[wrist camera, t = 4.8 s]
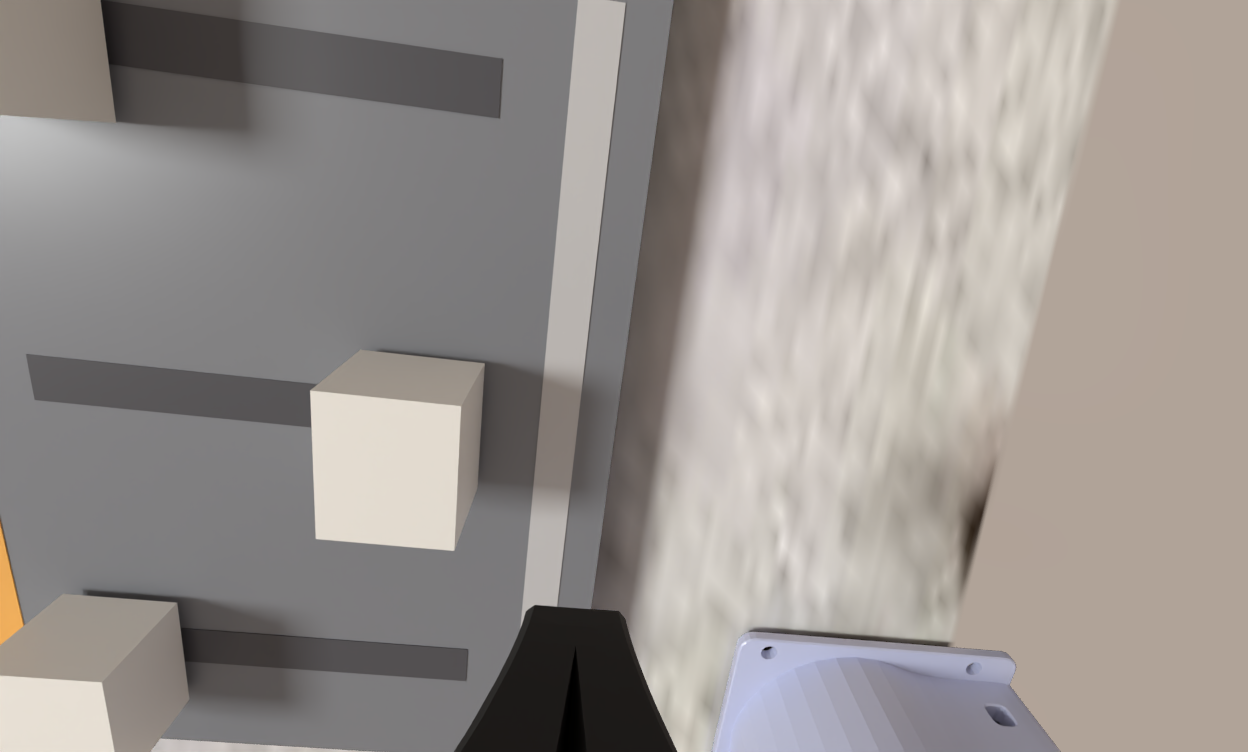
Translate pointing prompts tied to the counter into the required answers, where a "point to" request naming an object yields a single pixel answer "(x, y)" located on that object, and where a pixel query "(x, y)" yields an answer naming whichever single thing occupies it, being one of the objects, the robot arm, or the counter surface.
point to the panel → (321, 336)
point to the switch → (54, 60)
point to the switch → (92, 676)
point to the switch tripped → (396, 449)
